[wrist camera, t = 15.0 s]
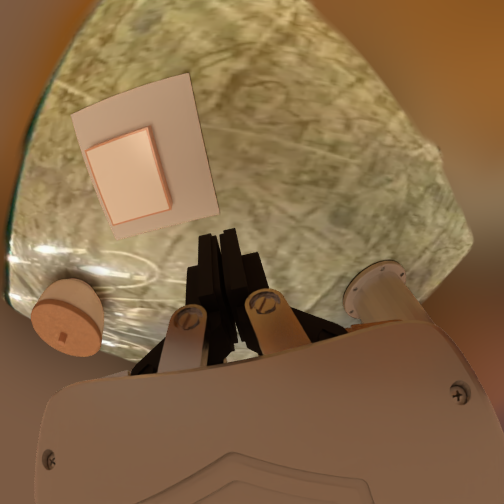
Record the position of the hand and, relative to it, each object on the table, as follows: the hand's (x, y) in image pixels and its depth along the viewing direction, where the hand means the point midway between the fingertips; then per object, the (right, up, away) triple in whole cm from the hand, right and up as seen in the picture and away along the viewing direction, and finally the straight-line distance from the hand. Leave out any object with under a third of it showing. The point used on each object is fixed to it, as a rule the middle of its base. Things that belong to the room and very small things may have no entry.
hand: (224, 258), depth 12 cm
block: (-8, +9, +13) cm, 17 cm away
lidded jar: (-24, -6, +22) cm, 33 cm away
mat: (-10, +10, +13) cm, 19 cm away
